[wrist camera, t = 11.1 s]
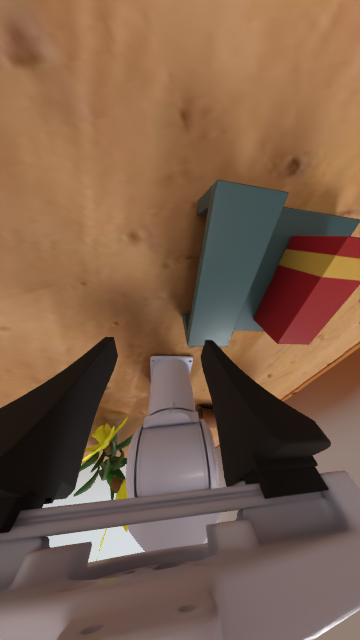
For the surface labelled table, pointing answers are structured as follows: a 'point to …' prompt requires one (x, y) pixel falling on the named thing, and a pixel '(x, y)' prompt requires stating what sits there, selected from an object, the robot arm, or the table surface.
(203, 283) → the shelf rack
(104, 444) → the daffodil flowers
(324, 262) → the candy bar
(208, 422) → the sunglasses case
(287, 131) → the table surface
